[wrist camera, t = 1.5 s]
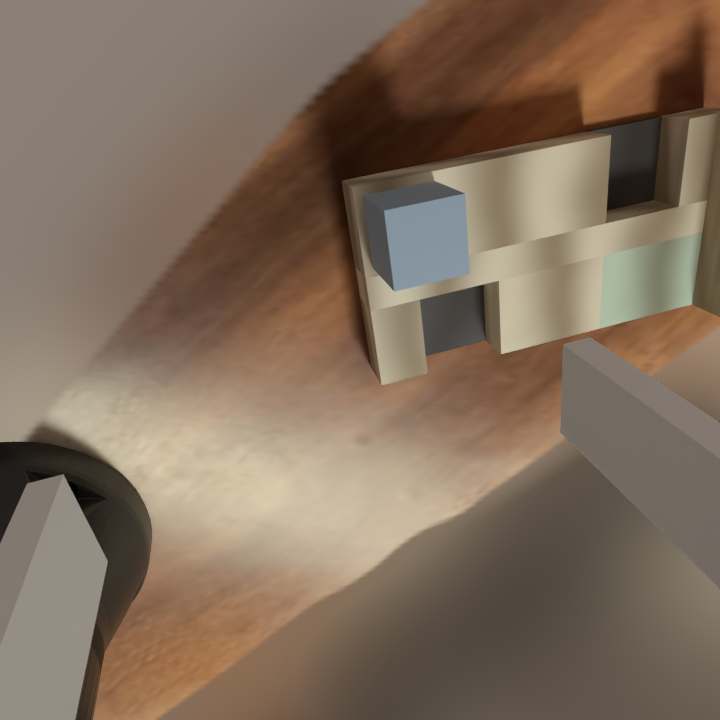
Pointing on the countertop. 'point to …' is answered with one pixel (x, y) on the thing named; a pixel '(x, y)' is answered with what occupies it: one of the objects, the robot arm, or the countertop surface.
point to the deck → (555, 240)
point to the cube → (417, 234)
